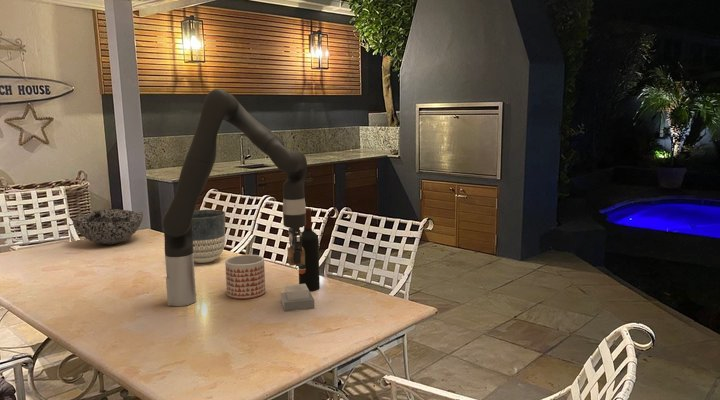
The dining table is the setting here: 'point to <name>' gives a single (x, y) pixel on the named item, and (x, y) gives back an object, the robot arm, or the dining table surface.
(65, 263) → the dining table surface
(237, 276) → the vase
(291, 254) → the walnut block
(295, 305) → the plinth
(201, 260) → the planter
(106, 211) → the bowl
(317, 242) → the wine bottle
